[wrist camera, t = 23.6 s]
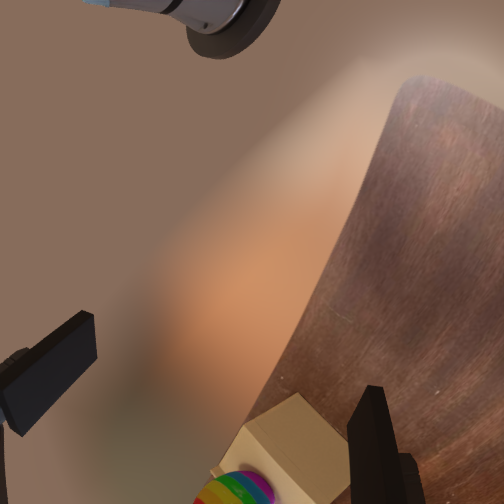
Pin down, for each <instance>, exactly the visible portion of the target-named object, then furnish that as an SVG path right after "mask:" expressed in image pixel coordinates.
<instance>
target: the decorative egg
mask: <svg viewBox="0 0 504 504" xmlns="http://www.w3.org/2000/svg"><path fill="white" fill-rule="evenodd" d="M274 502H275V496H274V493H273V490H272V489H271V487H270V486H269V485H268V483H267V482H266V481H265V480H264V479H263V478H262V477H260V476H259V475H258V474H256V473H254V472H251V471H233V472H229V473H226V474H223V475H221V476H219V477H217V478H215V479H214V480H212V481H211V482H210V483H208V484H207V485H206V486H205V487H204V488H203V489H202V490H201V491H200V493H199V494H198V495H197V497H196V499H195V501H194V503H193V504H274Z"/></svg>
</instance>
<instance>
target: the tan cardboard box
mask: <svg viewBox="0 0 504 504" xmlns="http://www.w3.org/2000/svg"><path fill="white" fill-rule="evenodd" d="M233 471H251V472H254V473H256V474H258V475H259V476H260V477H262V478H263V479H264V480H265V481H266V482H267V483H268V485H269V486H270V487H271V489H272V490H273V493H274V496H275V502H274V504H330V503H331V502H332V501H333V500H334V499H335V498H336V497H337V496H338V495H339V494H340V493H342V492H343V491H344V490H345V489H346V488H347V487H348V486H349V485H350V465H349V450H348V442H347V441H346V440H345V439H344V438H343V437H342V436H341V435H340V434H339V433H338V432H337V431H336V430H335V429H334V428H333V427H332V426H331V425H330V424H329V423H328V422H327V421H326V420H325V419H324V418H323V417H322V416H321V415H320V414H319V413H318V412H317V411H316V410H315V409H314V408H313V407H312V406H311V405H310V404H309V403H308V402H307V401H306V400H305V399H304V398H303V397H302V396H301V395H300V394H299V393H298V392H297V393H296V394H294V395H292V396H291V397H289V398H288V399H286V400H285V401H283V402H281V403H280V404H278V405H276V406H275V407H273V408H271V409H270V410H268V411H266V412H265V413H263V414H261V415H260V416H258V417H256V418H254V419H253V420H251V421H249V422H247V423H246V424H244V425H243V426H242V428H241V430H240V431H239V433H238V435H237V436H236V438H235V440H234V441H233V443H232V445H231V446H230V448H229V450H228V451H227V453H226V454H225V456H224V458H223V459H222V461H221V462H220V464H219V465H218V466H216V467H214V468H212V469H211V470H210V472H211V474H212V475H213V476H214V477H215V478H217V477H219V476H221V475H223V474H226V473H229V472H233Z"/></svg>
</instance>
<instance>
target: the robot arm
mask: <svg viewBox="0 0 504 504" xmlns="http://www.w3.org/2000/svg"><path fill="white" fill-rule="evenodd" d="M82 1H83V2H85V3H88V4H96V5H103V6H105V7H118V8H127V9H135V10H142V11H148V12H154V13H160V14H165V15H169V16H171V17H173V18H175V19H177V20H178V21H180V22H182V23H183V24H185V25H186V26H188V27H190V28H191V29H193V30H195V31H197V32H199V33H202V34H206V35H217V34H220V33H222V32H224V31H225V30H227V29H228V28H229V27H231V26H232V25H233V24H234V23H235V22H236V21H237V20H238V18H239V17H240V16H241V15H242V13H243V12H244V10H245V9H246V7H247V5H248V3H249V1H250V0H82ZM96 359H97V349H96V338H95V326H94V315H93V314H91V313H89V312H86V311H83V310H81V311H80V312H78V313H77V314H76V315H74V316H73V317H72V318H70V319H69V320H68V321H66V322H65V323H64V324H62V325H61V326H60V327H58V328H57V329H56V330H55V331H53V332H52V333H50V334H49V335H48V336H47V337H45V338H44V339H43V340H41V341H40V342H39V343H37V344H36V345H35V346H34V347H33V348H31V349H29V348H27V347H26V348H23V349H21V350H18V351H16V352H15V353H14V354H12V355H11V356H10V357H9V358H7V359H6V360H5V361H4V362H3V363H1V364H0V504H8V497H7V488H6V477H5V463H4V427H3V424H2V423H3V422H4V421H5V420H6V421H7V423H8V425H9V427H10V429H12V430H13V431H14V432H16V433H17V434H19V435H20V436H21V437H23V436H24V435H25V434H26V432H28V430H30V428H31V427H32V426H33V425H34V424H35V423H36V422H37V421H38V420H39V419H40V417H42V416H43V414H44V413H45V412H46V411H47V410H48V409H49V408H50V407H51V406H52V405H53V404H54V403H55V402H56V401H57V400H58V399H59V397H61V395H62V394H63V393H64V392H65V391H66V390H67V389H68V388H69V387H70V386H71V385H72V384H73V383H74V382H75V381H76V380H77V379H78V378H79V377H80V376H81V375H82V374H83V373H84V372H85V370H86V369H88V367H89V366H91V364H92V363H93V362H94V361H95V360H96ZM347 436H348V450H349V465H350V485H351V504H426V503H425V498H424V493H423V489H422V484H421V483H420V481H421V480H420V475H418V474H419V471H418V467H417V463H416V461H415V460H414V458H413V457H412V455H411V454H410V453H398V449H397V444H396V440H395V435H394V431H393V426H392V422H391V418H390V414H389V409H388V405H387V401H386V397H385V393H384V390H383V387H379V386H371V385H367V387H366V389H365V391H364V393H363V395H362V397H361V399H360V401H359V403H358V405H357V407H356V409H355V411H354V413H353V415H352V417H351V418H350V420H349V422H348V424H347Z"/></svg>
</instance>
